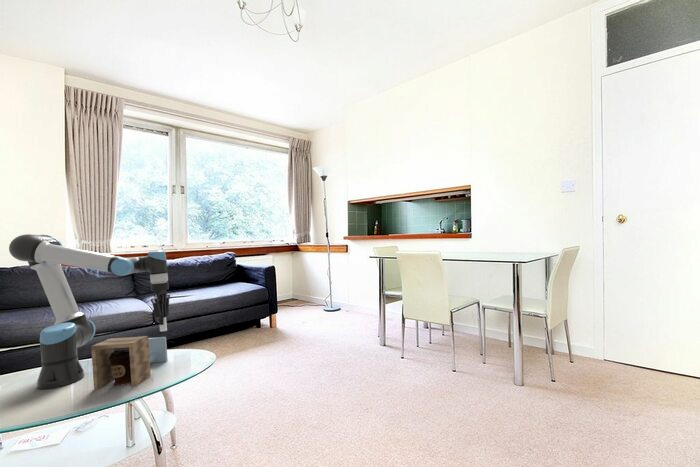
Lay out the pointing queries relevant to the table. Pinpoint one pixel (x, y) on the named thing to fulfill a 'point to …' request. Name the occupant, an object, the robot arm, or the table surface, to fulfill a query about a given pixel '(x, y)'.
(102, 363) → the tunnel
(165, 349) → the plunger
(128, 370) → the coffee cup
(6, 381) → the table surface
